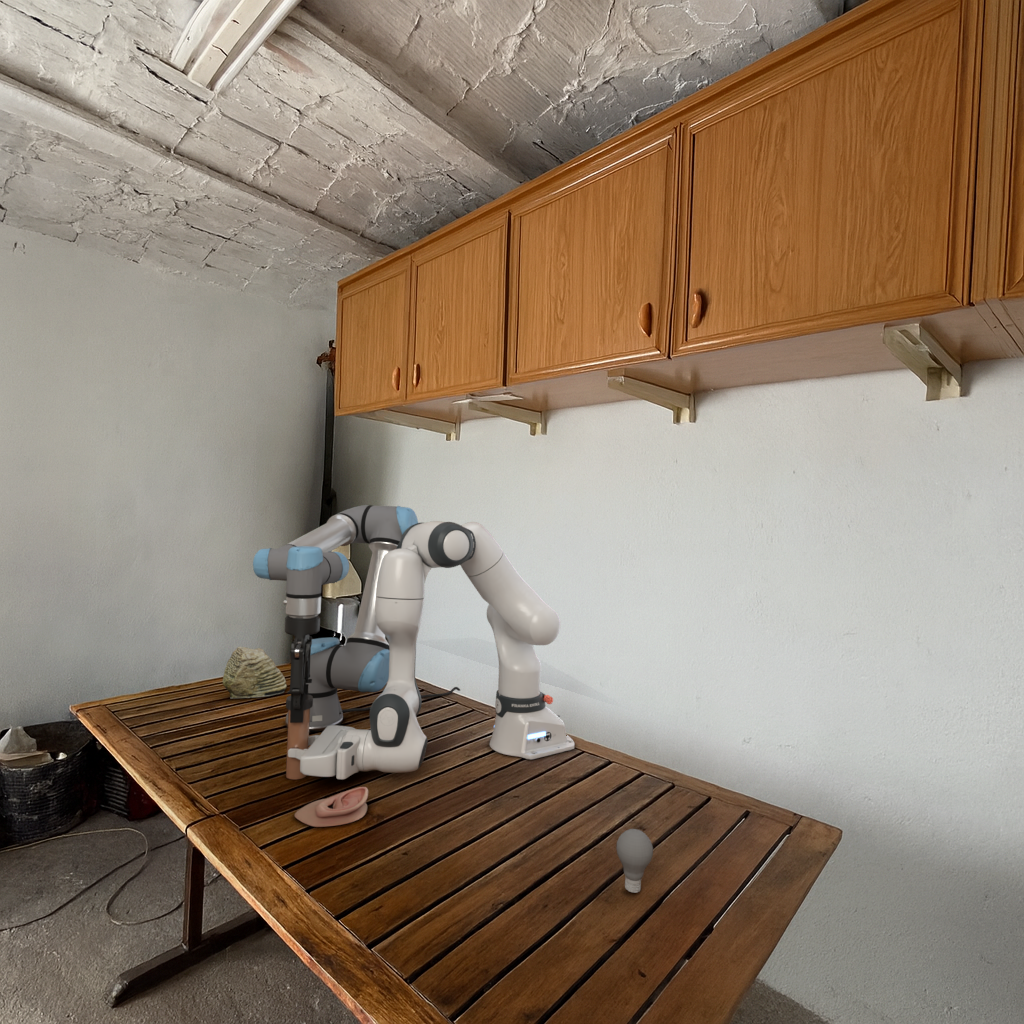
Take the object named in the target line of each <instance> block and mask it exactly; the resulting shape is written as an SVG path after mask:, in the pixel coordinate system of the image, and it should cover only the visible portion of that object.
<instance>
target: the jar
mask: <svg viewBox="0 0 1024 1024" xmlns="http://www.w3.org/2000/svg"><path fill="white" fill-rule="evenodd" d="M287 713H288V727H287V735H286V737H287V738H286V762H285V763H286V765H285V777H286V778H287V780H301V779H304V778H306V777H307V776H308V775H304V774H303V773H301V772H300V760H299V759H297V758H293V757H288V750H289V749H290V748H291V747H298V749H302V750H304V749H308V748H309V747H310V746H309V736H310V732H309V724H310V709H307V710H304V715H303V723H290V710H288V709H287Z"/></svg>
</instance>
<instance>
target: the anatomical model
mask: <svg viewBox="0 0 1024 1024" xmlns="http://www.w3.org/2000/svg"><path fill="white" fill-rule="evenodd" d="M368 797H369V789H368V787H366V786H360V787H355V788H352V789H348V790H346V791H341V792H340V793H337V794H334V795H332V796H330V797H327V798H322V799H318V800H315V801H312V802H309V803H308V804H306V805H304V806H302V807H301V808H299V809H298V810H297V811H296V812H295V813H294V818H295V819H297V820H298V821H300V822H301V823H303V824H305V825H308V826H310V827H314V828H315V827H316V828H323V827H334V826H341V825H346V824H351V823H353V822H356V821H358V820H361V819H362V818H363V817H364V816H365V815H366V814H367V811H368V804H367V800H368Z"/></svg>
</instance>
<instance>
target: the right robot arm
mask: <svg viewBox="0 0 1024 1024" xmlns="http://www.w3.org/2000/svg"><path fill="white" fill-rule="evenodd" d="M458 566H460V567H461V569H462V571H463V573H465V575H466V577H467V578H468V579H469V581H470V583H471V584H472V585H473V587H474V588H475V590H476V591H477V592H478V594H479V595H480V597H481V598H482V599H483V600H484V601H485V602H487V604H488V606H487V608H486V619H487V622H488V624H489V626H490V627H491V630H492V632H493V637H494V641H495V647H496V651H497V659H498V683H497V690H496V694H495V704H494V707H495V720H494V725H493V729H492V734H491V737H490V741H489V747H490V748H491V750H493V751H495V752H496V753H499V754H501V755H502V754H503V755H505V756H506V755H507V756H512V757H519V758H523V759H525V760H536V759H539V758H543V757H548V756H552V755H555V754H559V753H560V754H561V753H565V752H567V751H572V750H574V749H575V748H576V746H575V741H574V740H573V738H572V737H571V736H569V735H568V734H567V729H566V724H565V723H564V721H563V719H562V718H561V715H559V714H556V713H555V712H554V711H553V710H551V708H549V707H548V706H546V704H547V705H552V704H553V702H554V698H553V697H552V696H551V695H550V694H545V693H544V692H543V691H541V682H542V681H541V677H542V663H541V660H540V658H539V657H538V655H537V652H536V649H535V646H549V645H550V644H552V643H553V642H554V641H556V640H557V638H558V637H559V634H560V632H561V627H562V624H561V623H562V622H561V621H562V620H561V617H560V616H559V615H560V614H558V612H557V611H556V610H555V609H554V608H552V607H551V606H550V605H549V604H548V603H546V601H544V599H542V598H541V596H540V595H539V594H538V593H537V592H536V590H535V589H533V588H532V587H531V585H529V583H528V582H527V581H525V579H524V578H523V577H522V576H521V575H520V573H519V572H518V571H517V569H516V568H515V567H514V565H513V563H512V562H511V561H510V559H509V558H508V556H507V555H506V553H505V551H504V550H503V549H502V546H501V545H500V544H499V542H498V541H497V540H496V539H495V538H494V536H493V535H492V534H491V533H490V532H489V530H487V529H486V527H485V526H483V524H481V523H479V522H477V521H469V522H465V523H463V524H462V525H461V524H459V523H456V522H453V521H442V520H441V521H440V520H432V521H427V522H418V523H417V524H414V525H412V526H410V527H409V528H407V529H406V531H405V532H404V533H403V535H402V537H401V539H400V543H399V544H398V546H397V548H396V549H395V550H392V551H390V552H388V553H387V554H385V556H384V557H383V559H382V563H381V566H380V570H379V575H378V580H377V588H376V599H375V613H376V622H377V626H378V627H379V629H380V630H381V631H382V632H383V633H384V634H385V638H386V640H387V642H388V644H389V648H388V650H390V653H389V678H388V682H387V683H386V685H385V686H384V689H383V690H382V692H381V693H380V694H379V695H378V696H377V697H376V698H375V699H374V701H373V702H372V704H371V706H370V707H371V709H370V710H369V726H370V729H357V728H355V727H352V726H348V725H347V726H346V725H339V726H338V725H331V726H327V727H326V729H325V730H324V731H321V733H320V734H314V735H309V748H308V749H304V750H302V749H298V747H291V748H290V749H289V750H288V757H293V758H297V759H299V760H300V772H301V773H303V774H304V775H307V776H311V777H321V778H330V777H336V779H337V780H346V779H348V778H349V777H350V776H352V775H355V774H357V773H359V772H371V771H379V772H383V773H387V774H388V773H392V774H397V773H399V774H400V773H402V774H403V773H411V772H416V771H417V770H419V769H420V768H421V766H422V765H423V762H424V759H425V757H426V753H427V750H428V749H427V748H428V743H429V742H428V737H427V735H426V734H425V733H424V732H423V729H422V727H421V726H420V723H419V721H418V718H417V716H418V715H419V713H420V711H421V708H422V704H423V703H422V700H423V699H422V698H421V695H422V694H421V691H420V690H419V687H418V684H417V680H416V657H417V641H418V636H419V632H420V628H421V623H422V620H423V615H424V614H423V613H424V607H425V589H426V587H425V586H426V585H425V584H426V579H427V577H428V575H429V572H430V571H431V570H432V569H437V568H444V569H451V568H456V567H458ZM566 735H567V736H566Z"/></svg>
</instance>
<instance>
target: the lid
mask: <svg viewBox="0 0 1024 1024" xmlns="http://www.w3.org/2000/svg"><path fill="white" fill-rule="evenodd" d="M312 706H313V696H311V695H309V694H304V710H307V709H310V708H311V707H312ZM285 709H287V711H288V710H291V695H288V696H287V697H286V699H285Z"/></svg>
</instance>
